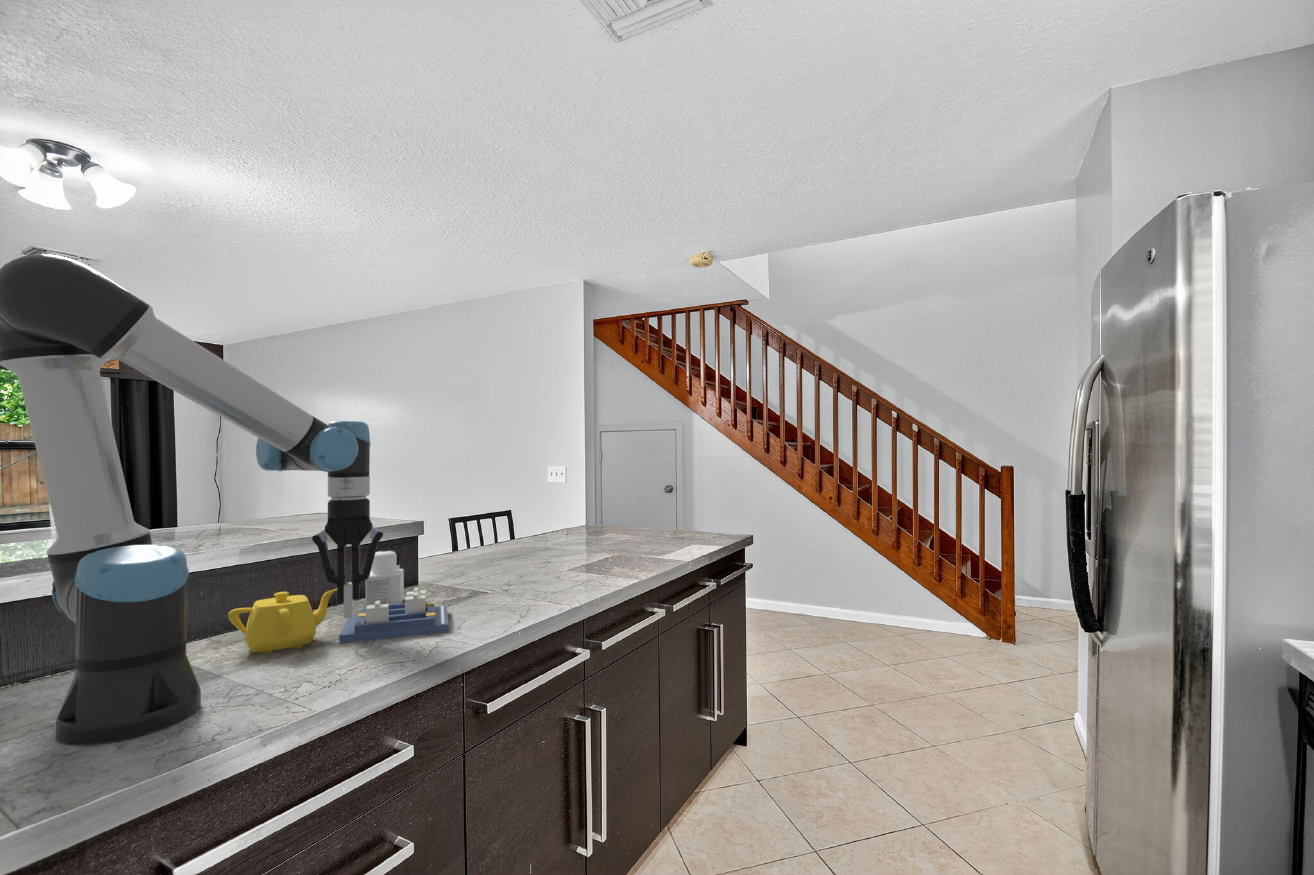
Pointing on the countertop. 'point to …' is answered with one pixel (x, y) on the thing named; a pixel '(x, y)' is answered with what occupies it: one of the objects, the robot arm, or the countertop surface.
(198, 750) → the countertop surface
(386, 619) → the grey studded block
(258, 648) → the teapot
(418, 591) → the grey studded block
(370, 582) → the container
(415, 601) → the gray studded block
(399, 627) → the blue divided tray
